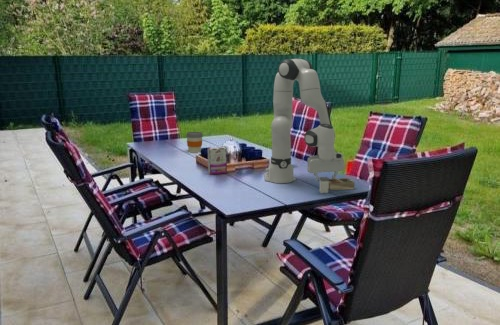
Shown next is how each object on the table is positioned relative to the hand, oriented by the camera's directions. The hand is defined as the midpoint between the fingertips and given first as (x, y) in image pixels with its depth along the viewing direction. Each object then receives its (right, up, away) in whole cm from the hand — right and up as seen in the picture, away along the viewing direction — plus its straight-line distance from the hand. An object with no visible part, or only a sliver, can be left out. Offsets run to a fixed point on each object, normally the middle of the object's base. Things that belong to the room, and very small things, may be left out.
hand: (325, 179), depth 235 cm
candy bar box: (-62, +2, +40) cm, 73 cm away
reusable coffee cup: (-84, +17, +105) cm, 136 cm away
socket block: (+10, -5, +11) cm, 15 cm away
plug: (-1, -7, +2) cm, 7 cm away
